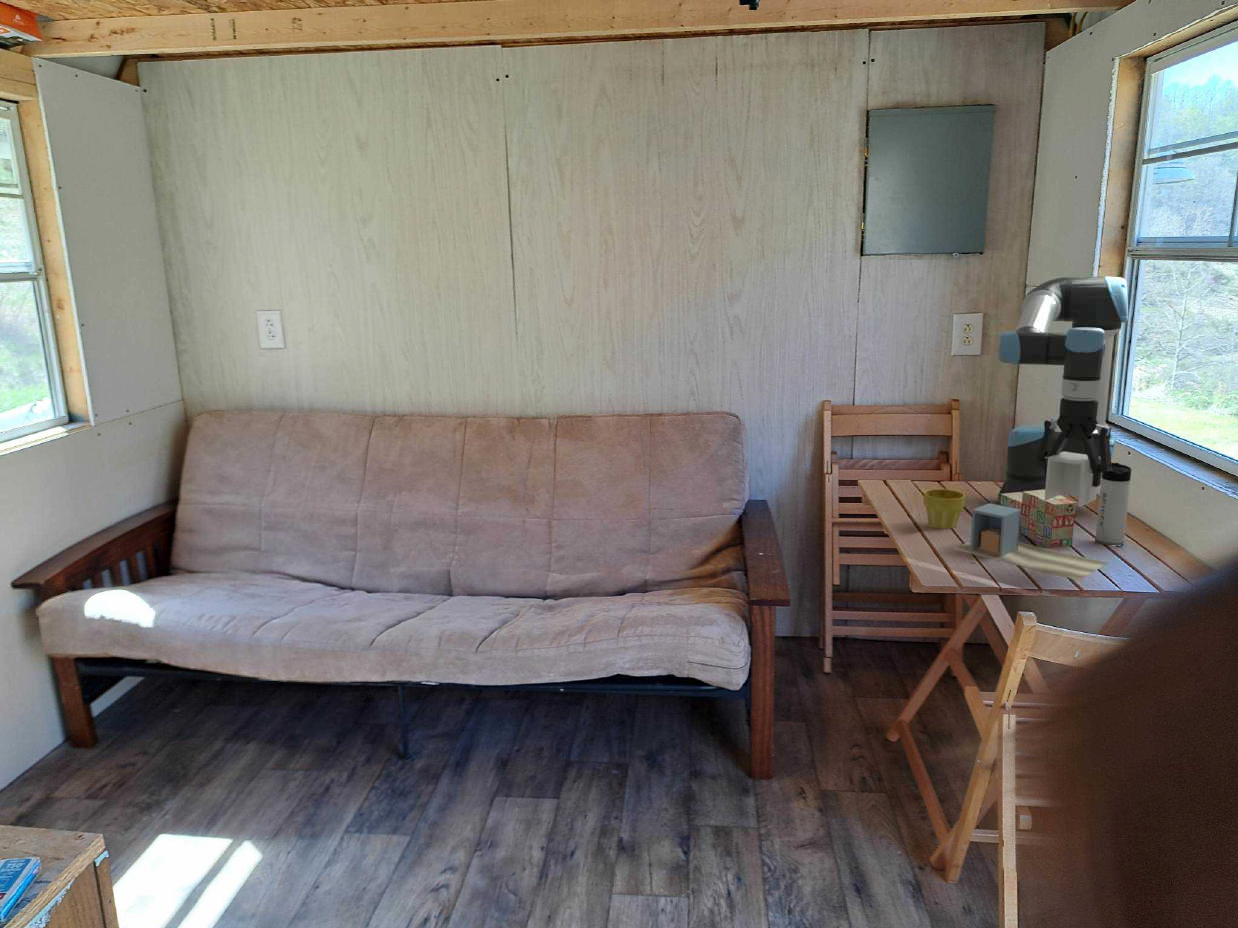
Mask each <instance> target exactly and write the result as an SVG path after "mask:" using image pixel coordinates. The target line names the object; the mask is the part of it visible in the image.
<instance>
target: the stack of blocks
mask: <svg viewBox="0 0 1238 928" xmlns="http://www.w3.org/2000/svg"><path fill="white" fill-rule="evenodd" d="M1044 498H1045V490H1034V491H1024V492H1023V493H1022V492H1015V493H1005V494H1000V506H1005V507H1010V508H1015V509H1020V510H1021V516H1020V528H1019V534H1022V535H1024V536H1026V537H1028V538H1029V539H1031V540H1034V541H1036V542H1037V543H1040V544H1042V545H1044V546H1046V547H1049V548H1057V547H1065V546H1067V547H1068V546H1072V545H1073V539H1074V538H1073V536H1074V527H1075V521H1076V511H1077V510H1076V509H1077V502H1075V501H1074V500H1071V499H1069V498H1067V497H1065V496H1063V495H1061V494H1060V495H1058V496H1056V497H1053V498H1051V499H1048V500H1044Z"/></svg>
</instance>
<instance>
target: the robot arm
mask: <svg viewBox="0 0 1238 928" xmlns="http://www.w3.org/2000/svg"><path fill="white" fill-rule="evenodd" d="M1128 295H1129V293H1128V285H1127V281H1126V279H1125V278H1123V277H1119V276H1118V277H1117V276H1081V277H1080V276H1077V277H1076V276H1075V277H1068V276H1065V277H1058V278H1053V279H1051V280H1047V281H1045V282H1043V283H1040V284H1039V285H1037V286H1035V287H1033V288H1031V290H1030V291H1029V292H1028V293H1027V294H1026V295H1025V296H1024V298H1023V300H1022V302H1021V305H1020V312H1021V316H1020V318H1019V321H1018V322H1017V325H1016V327H1015V330H1014V331H1005V332H1003V333H1002V334H1001V336H1000V339H999V346H998V359H999V361H1000V363H1002V364H1012V365H1015V366H1016V365H1036V366H1037V365H1039V366H1040V365H1042V366H1044V365H1045V366H1047V365H1048V366H1063V372H1062V373H1063V375H1062V380H1061V393H1060V395H1061V396H1062V397H1061V399H1060V402H1059V403H1060V404H1059V416H1058V418H1057V419H1052V418H1050V419H1048V420H1044V422H1043V424H1032V425H1031V424H1030V425H1023V426H1018V427H1015V428H1013V429H1011V431H1010V432H1009V435H1008V440H1007V441H1008V442H1007V445H1006V446H1007V457H1006V458H1007V459H1006V468H1005V469H1006V470H1005V478H1004V481H1003V483H1002V485H1001V487H1000V490H999V492H998V494H997V498H996V499H997V501H996V505H1000V494H1005V493H1015V492H1022V493H1023V492H1024V491H1034V490H1045V487H1046V475H1047V463H1048V457H1050V456H1053V455H1057V454H1060V453H1061V452H1071V453H1078V454H1085V455H1087V456H1088V459H1089V461H1090V465H1091V468H1092V472H1089V475H1088V486H1087V496H1086V501H1091V502H1093V501H1092V500H1094V499H1095V490H1096V487H1097V488H1098V487H1101V480H1102V479H1101V478H1102V475H1103V474H1102V472H1106V471H1108V470H1110V469H1111V468H1112V465H1111V463H1112V457H1113V454H1114V451H1115V450H1114V448H1115V444H1116V440H1117V436H1116V435H1115V434H1111V433H1112V426H1110V425H1108V424H1107V423H1106V420H1107V419H1106V418H1107V410H1108V409H1107V408H1108V399H1109V397H1108V396H1109V388H1110V387H1109V386H1110V379H1111V368H1112V357H1113V348H1114V347H1113V346H1114V337H1115V335H1116V334H1117V333H1118V332H1119V331H1122V330H1121V329H1122V325H1123V324H1124V323H1127V322H1128V321H1129V300H1128V299H1129V298H1128ZM1053 322H1071V323H1072V324H1071V328H1069V329H1068V330H1067V332H1050V331H1051V327H1052V325H1053ZM1057 426H1058V427H1057ZM1057 428H1059V429H1060V431H1056V429H1057ZM1099 457H1100V459H1099ZM1094 501H1095V500H1094Z"/></svg>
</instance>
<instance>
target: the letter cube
mask: <svg viewBox="0 0 1238 928" xmlns="http://www.w3.org/2000/svg"><path fill="white" fill-rule="evenodd" d="M1000 538H1001V530H1000V529H996V528H988V529H986V530H984V531H982V534H981V549H983V550H987V551H991V552H996V553H999V551H1000Z"/></svg>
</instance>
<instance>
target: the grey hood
mask: <svg viewBox="0 0 1238 928" xmlns="http://www.w3.org/2000/svg"><path fill="white" fill-rule="evenodd" d="M1099 459H1100V457H1099ZM1089 472H1092V468H1091V465H1090V461H1089V459H1088V456H1087V455H1085V454H1078V453H1071V452H1061V453H1060V454H1057V455H1053V456H1050V457H1048V463H1047V475H1046V487H1045V498H1044V500H1048V499H1051V498H1053V497H1056V496H1058V495H1060V496H1061V495H1066V496H1071V497H1076V498H1078V499H1077V500H1078V501H1077V506H1078V507H1083V506H1085V505H1087V504H1089V503H1091V502H1093V501H1095V500H1097V494H1098V493H1097V491H1098V487H1096V490H1095V499H1094V500H1092V501H1086V496H1087V486H1088V475H1089Z"/></svg>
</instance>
